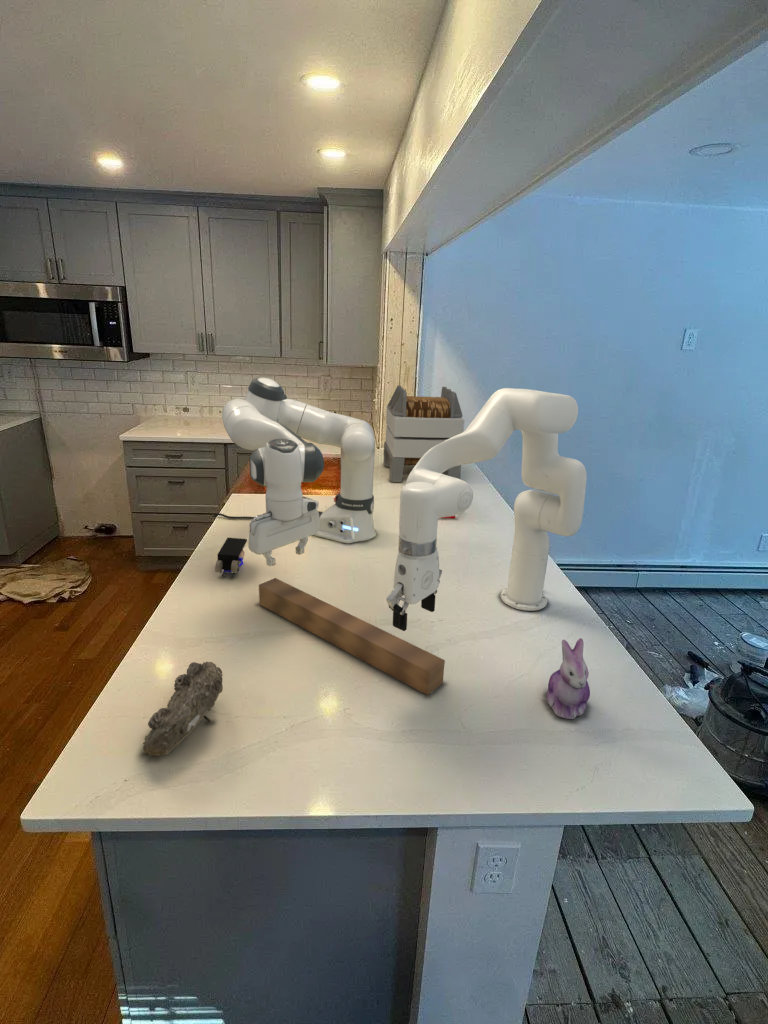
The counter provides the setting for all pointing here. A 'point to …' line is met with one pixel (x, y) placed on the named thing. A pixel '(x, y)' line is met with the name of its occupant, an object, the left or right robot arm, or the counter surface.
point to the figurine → (569, 683)
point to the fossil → (184, 708)
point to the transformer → (419, 428)
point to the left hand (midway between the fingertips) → (285, 559)
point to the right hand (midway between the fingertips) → (414, 618)
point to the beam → (354, 636)
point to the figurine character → (230, 556)
